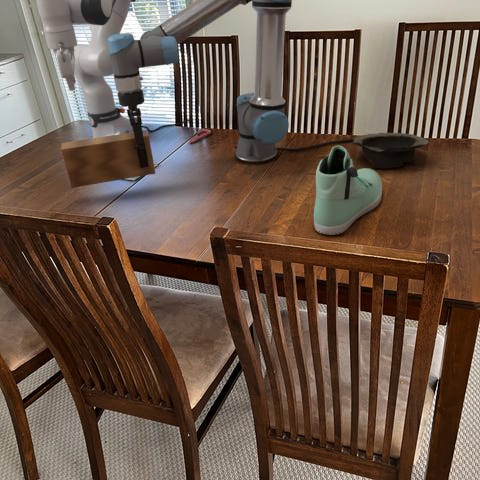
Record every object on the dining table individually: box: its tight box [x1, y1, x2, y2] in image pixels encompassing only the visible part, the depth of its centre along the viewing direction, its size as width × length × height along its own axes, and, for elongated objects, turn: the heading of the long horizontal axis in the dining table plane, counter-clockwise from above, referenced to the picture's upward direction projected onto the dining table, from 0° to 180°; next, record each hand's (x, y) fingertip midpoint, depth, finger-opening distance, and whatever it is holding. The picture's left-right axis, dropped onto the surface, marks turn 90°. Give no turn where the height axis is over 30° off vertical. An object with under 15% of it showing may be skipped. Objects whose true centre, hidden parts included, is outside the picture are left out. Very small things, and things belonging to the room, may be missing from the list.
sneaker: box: [313, 145, 383, 236], centre depth 133 cm, size 14×35×20 cm, turn 152°
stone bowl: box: [352, 132, 430, 170], centre depth 165 cm, size 25×25×9 cm
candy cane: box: [188, 128, 212, 145], centre depth 200 cm, size 6×15×2 cm, turn 145°
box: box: [60, 129, 156, 189], centre depth 151 cm, size 26×6×13 cm, turn 105°
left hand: (72, 86), depth 154 cm, fingers open, 8 cm apart
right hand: (143, 163), depth 154 cm, fingers closed on box, 6 cm apart
